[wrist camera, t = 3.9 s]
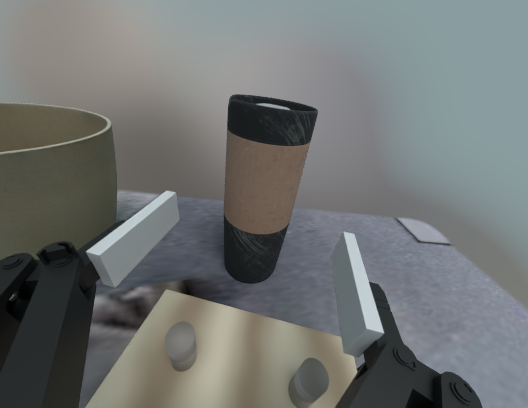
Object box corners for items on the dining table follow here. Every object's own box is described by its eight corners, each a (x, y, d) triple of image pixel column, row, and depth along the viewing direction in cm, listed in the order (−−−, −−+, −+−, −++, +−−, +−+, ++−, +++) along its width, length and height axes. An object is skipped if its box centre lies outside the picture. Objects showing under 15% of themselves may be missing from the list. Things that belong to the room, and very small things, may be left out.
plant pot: (22, 227, 26) (-72, 94, 17) (147, 215, 32) (124, 111, 23) (-92, 351, 15) (-511, 151, 6) (134, 299, 21) (79, 157, 12)
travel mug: (286, 259, 28) (332, 110, 17) (255, 298, 22) (292, 114, 11) (246, 234, 31) (263, 95, 20) (210, 262, 26) (206, 92, 15)
